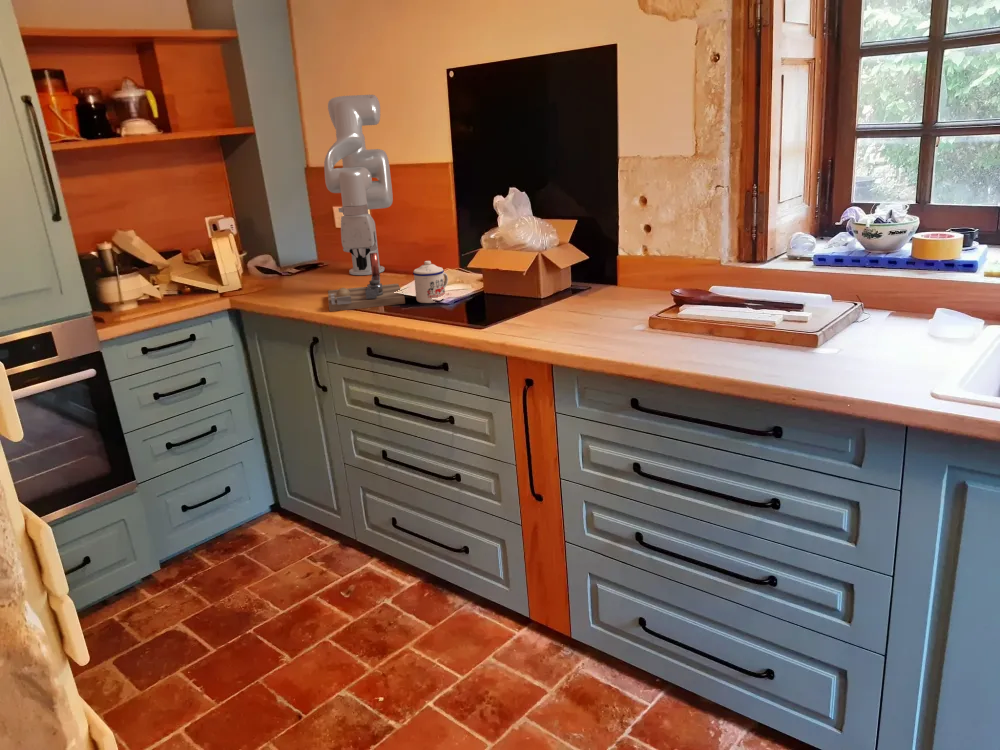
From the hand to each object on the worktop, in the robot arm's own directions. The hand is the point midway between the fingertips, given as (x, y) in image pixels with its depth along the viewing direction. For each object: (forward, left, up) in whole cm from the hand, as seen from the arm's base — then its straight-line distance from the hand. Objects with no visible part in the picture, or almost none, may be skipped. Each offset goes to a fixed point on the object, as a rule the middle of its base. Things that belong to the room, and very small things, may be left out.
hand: (362, 269), depth 240 cm
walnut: (+21, -7, -5) cm, 22 cm away
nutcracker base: (+13, -1, -7) cm, 15 cm away
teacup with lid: (+21, +19, -7) cm, 30 cm away
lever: (+11, +3, -5) cm, 13 cm away
